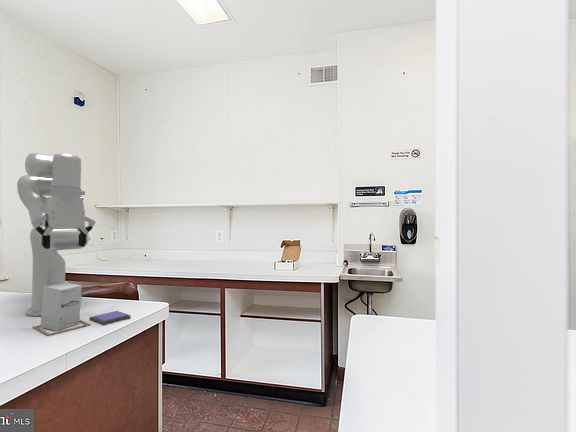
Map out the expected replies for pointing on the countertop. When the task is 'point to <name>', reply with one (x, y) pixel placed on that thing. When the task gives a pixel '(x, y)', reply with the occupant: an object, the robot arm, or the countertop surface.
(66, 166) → the robot arm
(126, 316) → the ink pad
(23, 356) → the countertop surface
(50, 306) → the supplement box
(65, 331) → the tan picture frame
